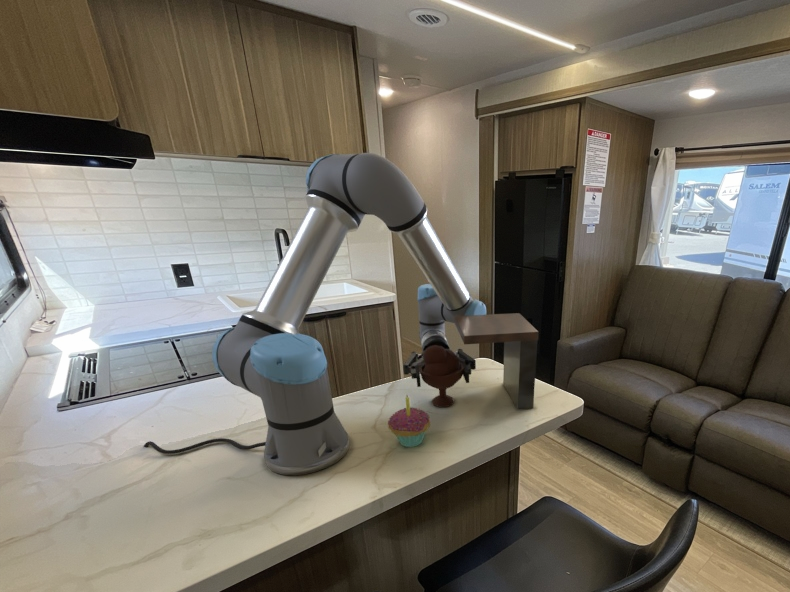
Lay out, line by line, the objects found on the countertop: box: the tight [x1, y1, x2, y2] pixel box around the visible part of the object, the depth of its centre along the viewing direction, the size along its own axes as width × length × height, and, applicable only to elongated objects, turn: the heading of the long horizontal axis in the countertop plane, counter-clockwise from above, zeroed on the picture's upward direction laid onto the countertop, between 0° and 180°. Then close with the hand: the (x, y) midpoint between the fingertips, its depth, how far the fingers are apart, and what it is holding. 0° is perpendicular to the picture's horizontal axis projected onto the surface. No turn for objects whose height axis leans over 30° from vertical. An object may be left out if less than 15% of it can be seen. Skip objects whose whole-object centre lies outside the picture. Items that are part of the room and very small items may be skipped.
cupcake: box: [387, 394, 431, 448], centre depth 83 cm, size 9×8×12 cm
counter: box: [454, 312, 540, 411], centre depth 100 cm, size 17×16×20 cm
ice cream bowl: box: [419, 345, 464, 408], centre depth 98 cm, size 11×11×15 cm
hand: (443, 379), depth 94 cm, fingers closed on ice cream bowl, 11 cm apart
